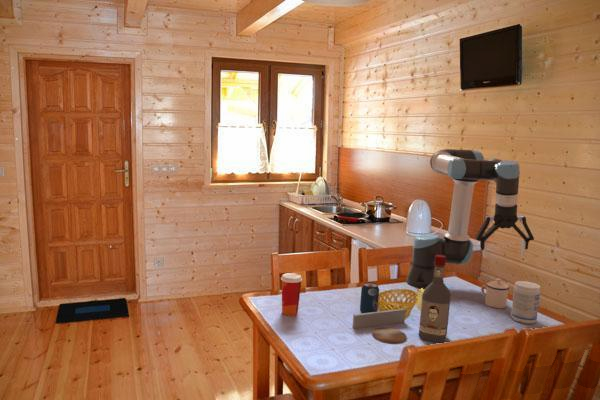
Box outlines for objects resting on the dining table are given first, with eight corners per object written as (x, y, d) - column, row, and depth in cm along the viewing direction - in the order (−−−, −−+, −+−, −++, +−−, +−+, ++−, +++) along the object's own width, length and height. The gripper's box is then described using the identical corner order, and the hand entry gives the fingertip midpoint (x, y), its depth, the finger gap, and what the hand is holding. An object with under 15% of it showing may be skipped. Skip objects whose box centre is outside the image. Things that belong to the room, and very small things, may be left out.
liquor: (421, 330, 194) (429, 251, 189) (447, 335, 190) (455, 254, 186) (417, 339, 185) (425, 257, 181) (444, 344, 182) (452, 261, 177)
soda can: (376, 317, 203) (379, 288, 201) (358, 315, 205) (361, 286, 203) (377, 311, 210) (380, 282, 208) (360, 309, 211) (362, 280, 209)
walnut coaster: (365, 331, 190) (366, 329, 190) (393, 327, 195) (394, 326, 195) (383, 345, 179) (384, 343, 179) (413, 340, 184) (413, 339, 184)
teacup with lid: (511, 306, 224) (514, 280, 223) (498, 310, 219) (501, 283, 217) (486, 298, 234) (489, 272, 232) (474, 301, 229) (477, 275, 227)
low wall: (352, 327, 193) (353, 314, 192) (402, 321, 202) (403, 308, 201) (354, 328, 192) (355, 315, 191) (404, 322, 200) (405, 309, 200)
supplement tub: (538, 326, 204) (543, 289, 202) (512, 322, 206) (516, 286, 204) (533, 317, 213) (538, 282, 211) (509, 313, 216) (513, 279, 213)
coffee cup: (288, 307, 209) (290, 271, 207) (304, 313, 204) (306, 276, 202) (274, 312, 203) (276, 275, 200) (290, 318, 198) (292, 280, 195)
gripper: (472, 207, 190) (470, 261, 197) (545, 206, 186) (541, 261, 192) (469, 201, 197) (467, 252, 204) (539, 199, 193) (535, 252, 199)
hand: (503, 257), depth 198 cm, fingers open, 13 cm apart
